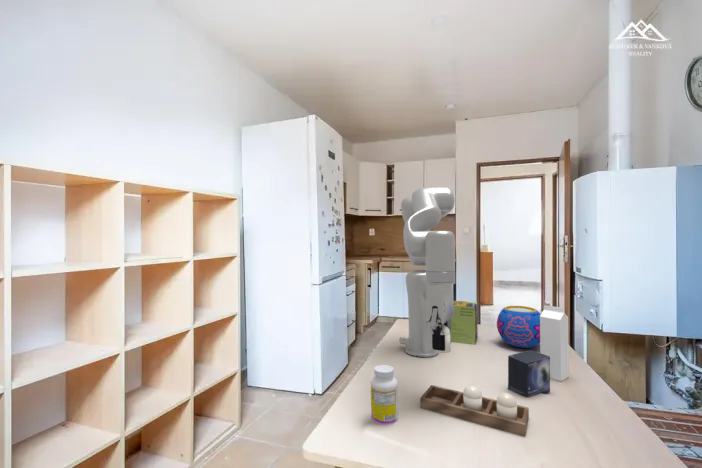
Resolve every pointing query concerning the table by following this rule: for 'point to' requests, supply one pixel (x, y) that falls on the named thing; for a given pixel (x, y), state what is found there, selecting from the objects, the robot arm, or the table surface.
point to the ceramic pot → (519, 326)
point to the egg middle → (472, 398)
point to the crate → (453, 406)
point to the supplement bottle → (384, 396)
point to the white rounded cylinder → (446, 340)
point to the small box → (529, 373)
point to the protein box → (464, 322)
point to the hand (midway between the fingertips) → (441, 346)
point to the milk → (555, 341)
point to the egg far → (507, 406)
